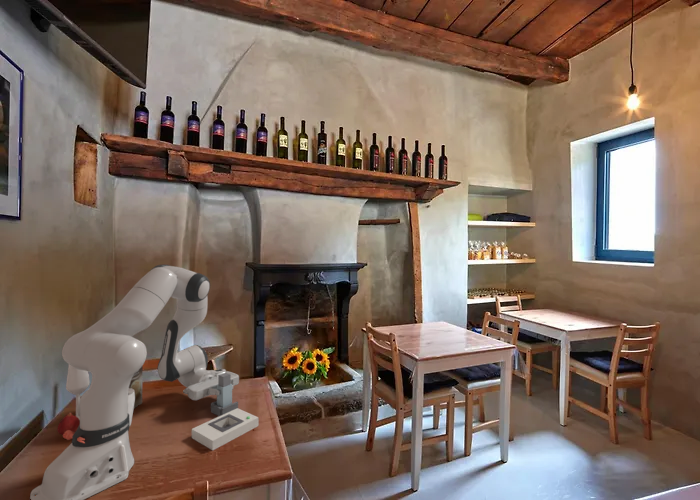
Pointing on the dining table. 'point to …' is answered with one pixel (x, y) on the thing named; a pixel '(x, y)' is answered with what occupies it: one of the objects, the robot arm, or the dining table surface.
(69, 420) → the onion
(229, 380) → the plug
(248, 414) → the block
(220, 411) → the holster
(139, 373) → the coffee box
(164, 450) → the dining table surface
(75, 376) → the champagne flute
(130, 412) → the cup
